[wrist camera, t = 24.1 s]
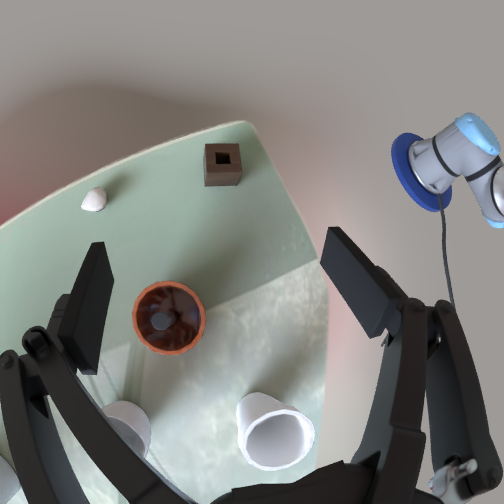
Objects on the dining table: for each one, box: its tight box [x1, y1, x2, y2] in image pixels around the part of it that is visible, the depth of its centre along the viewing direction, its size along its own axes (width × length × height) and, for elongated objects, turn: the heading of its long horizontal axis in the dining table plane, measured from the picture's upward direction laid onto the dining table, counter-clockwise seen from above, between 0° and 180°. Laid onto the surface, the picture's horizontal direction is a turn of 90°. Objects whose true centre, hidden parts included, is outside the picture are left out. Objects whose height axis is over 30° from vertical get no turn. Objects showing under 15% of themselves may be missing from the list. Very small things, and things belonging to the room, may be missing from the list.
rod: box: [152, 311, 180, 330], centre depth 31 cm, size 2×2×18 cm
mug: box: [101, 401, 151, 458], centre depth 30 cm, size 13×9×10 cm
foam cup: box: [237, 392, 315, 471], centre depth 33 cm, size 10×9×13 cm
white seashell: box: [82, 187, 108, 211], centre depth 40 cm, size 4×5×2 cm
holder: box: [203, 144, 242, 186], centre depth 44 cm, size 6×6×5 cm
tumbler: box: [132, 281, 206, 355], centre depth 35 cm, size 9×9×11 cm
